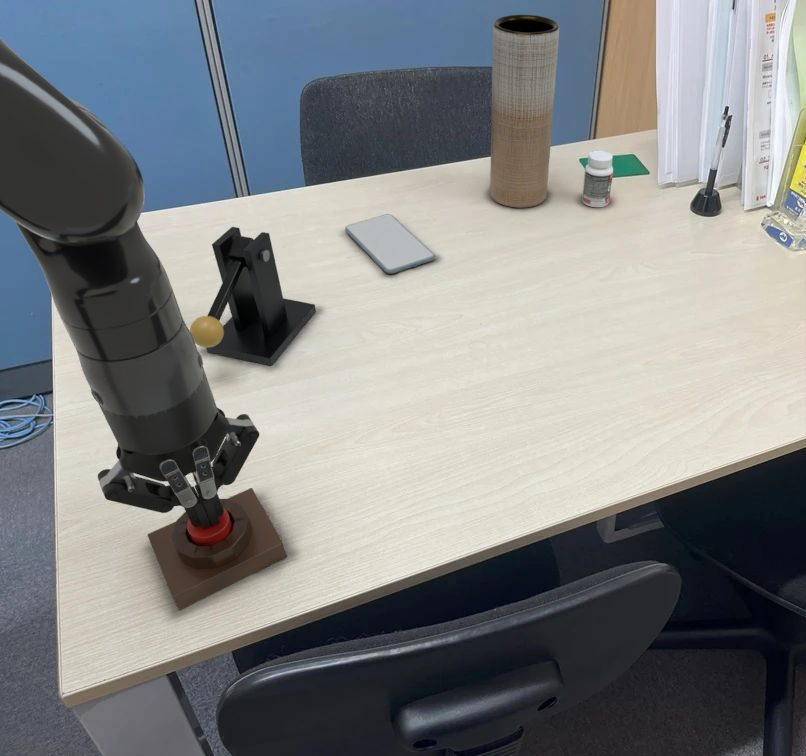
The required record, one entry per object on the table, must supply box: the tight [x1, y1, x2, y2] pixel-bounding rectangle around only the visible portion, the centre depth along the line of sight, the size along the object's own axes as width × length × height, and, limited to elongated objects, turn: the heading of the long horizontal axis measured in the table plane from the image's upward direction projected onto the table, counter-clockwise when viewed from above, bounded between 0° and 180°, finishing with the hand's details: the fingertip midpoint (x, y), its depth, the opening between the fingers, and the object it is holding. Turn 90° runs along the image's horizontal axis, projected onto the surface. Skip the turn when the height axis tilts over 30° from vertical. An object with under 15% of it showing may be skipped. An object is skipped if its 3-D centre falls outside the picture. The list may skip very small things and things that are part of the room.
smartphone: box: [344, 213, 436, 275], centre depth 109 cm, size 8×1×15 cm
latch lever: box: [189, 235, 254, 348], centre depth 82 cm, size 14×4×4 cm, turn 165°
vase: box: [489, 14, 560, 209], centre depth 114 cm, size 10×10×28 cm
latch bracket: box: [205, 226, 317, 367], centre depth 88 cm, size 12×9×14 cm
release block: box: [147, 487, 288, 611], centre depth 65 cm, size 10×8×4 cm
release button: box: [187, 509, 233, 546], centre depth 64 cm, size 4×4×2 cm
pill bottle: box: [581, 150, 614, 208], centre depth 119 cm, size 5×5×8 cm
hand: (208, 519), depth 64 cm, fingers closed
